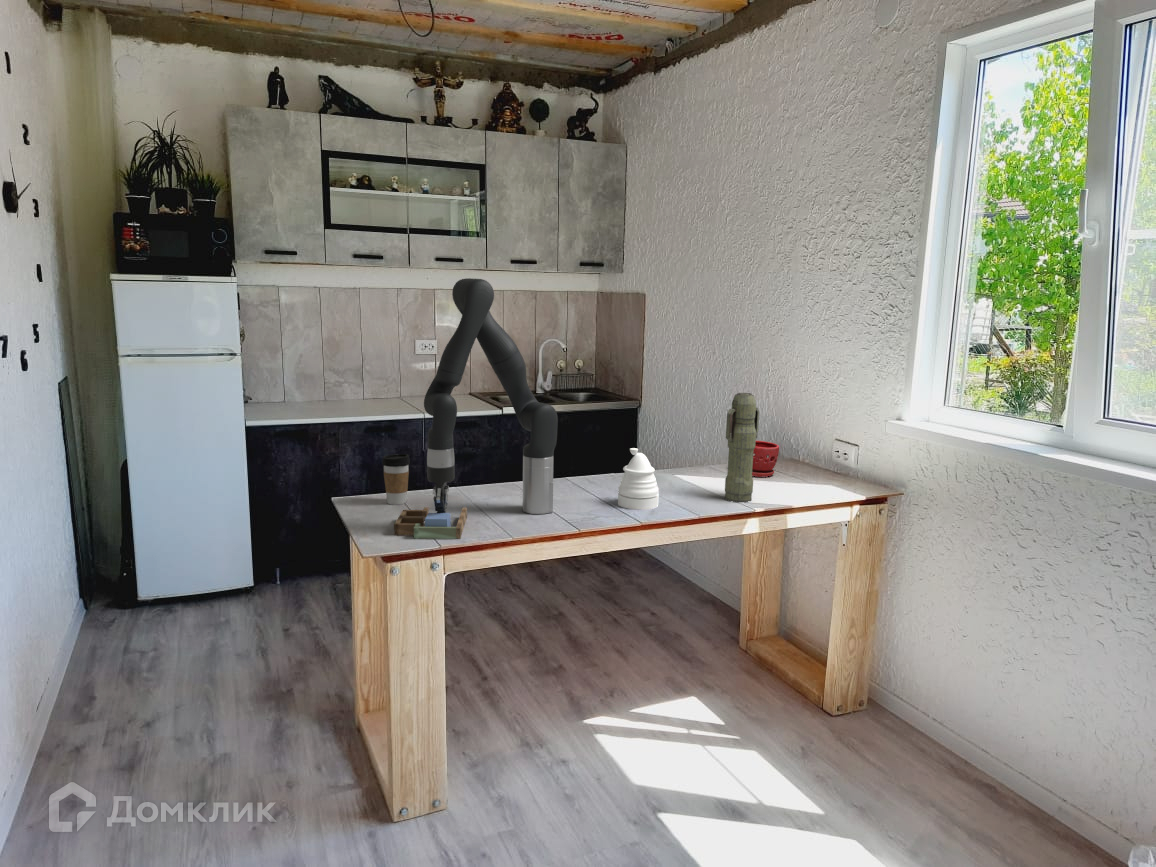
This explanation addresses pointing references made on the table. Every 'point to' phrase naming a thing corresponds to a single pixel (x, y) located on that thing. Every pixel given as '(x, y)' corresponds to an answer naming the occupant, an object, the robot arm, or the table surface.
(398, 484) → the coffee cup
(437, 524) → the block
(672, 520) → the table surface
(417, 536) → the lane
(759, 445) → the plant pot
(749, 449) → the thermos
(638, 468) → the honey pot
